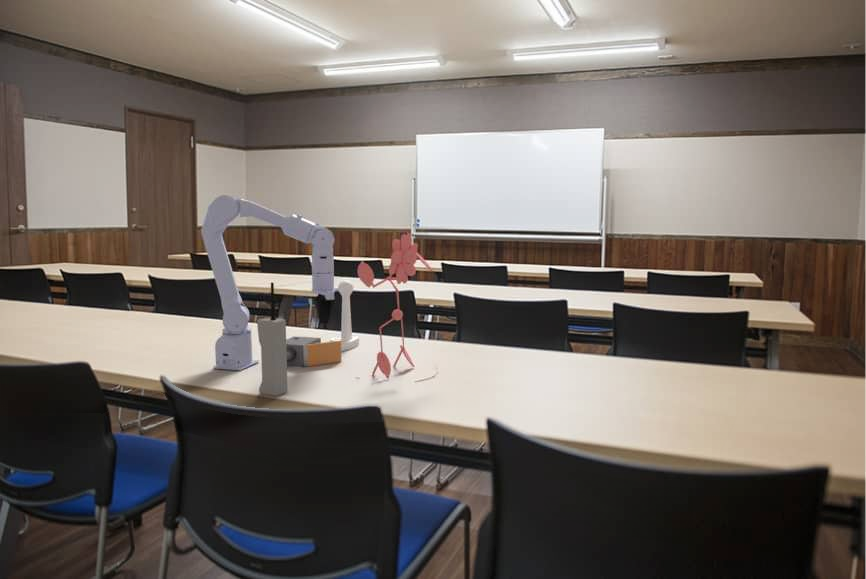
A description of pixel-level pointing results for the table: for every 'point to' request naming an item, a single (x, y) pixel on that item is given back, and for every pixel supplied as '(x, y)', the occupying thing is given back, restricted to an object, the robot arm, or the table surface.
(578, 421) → the table surface
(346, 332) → the joystick
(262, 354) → the vintage mobile phone
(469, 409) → the table surface
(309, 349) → the side door
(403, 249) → the figurine
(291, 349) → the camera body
